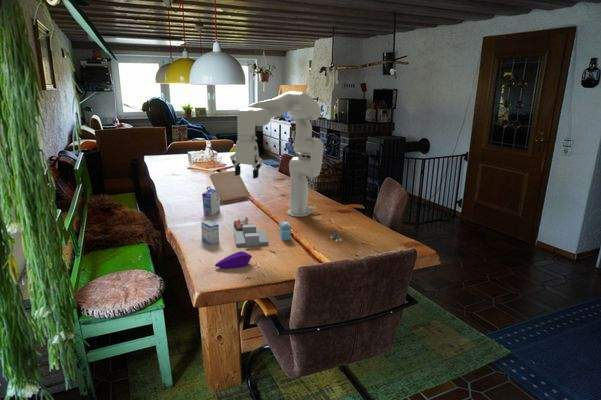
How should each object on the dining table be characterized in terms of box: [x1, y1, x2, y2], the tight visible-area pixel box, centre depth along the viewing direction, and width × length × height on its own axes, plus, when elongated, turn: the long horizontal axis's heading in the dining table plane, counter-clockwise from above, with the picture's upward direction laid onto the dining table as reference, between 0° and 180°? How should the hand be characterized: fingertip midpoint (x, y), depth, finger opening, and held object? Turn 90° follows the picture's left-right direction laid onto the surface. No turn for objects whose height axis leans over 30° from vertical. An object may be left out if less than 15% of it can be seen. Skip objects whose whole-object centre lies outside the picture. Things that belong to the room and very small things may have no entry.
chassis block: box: [233, 223, 269, 248], centre depth 183 cm, size 14×15×5 cm
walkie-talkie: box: [233, 216, 253, 231], centre depth 200 cm, size 9×4×20 cm
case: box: [209, 170, 250, 205], centre depth 245 cm, size 20×21×16 cm
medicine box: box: [200, 220, 220, 245], centre depth 180 cm, size 8×4×9 cm, turn 45°
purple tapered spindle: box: [214, 250, 253, 269], centre depth 157 cm, size 5×5×15 cm
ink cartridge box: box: [201, 185, 221, 217], centre depth 217 cm, size 10×6×14 cm, turn 164°
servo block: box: [278, 220, 292, 241], centre depth 186 cm, size 4×10×8 cm, turn 13°
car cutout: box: [330, 230, 342, 243], centre depth 183 cm, size 15×7×4 cm, turn 27°
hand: (246, 176), depth 179 cm, fingers open, 9 cm apart
